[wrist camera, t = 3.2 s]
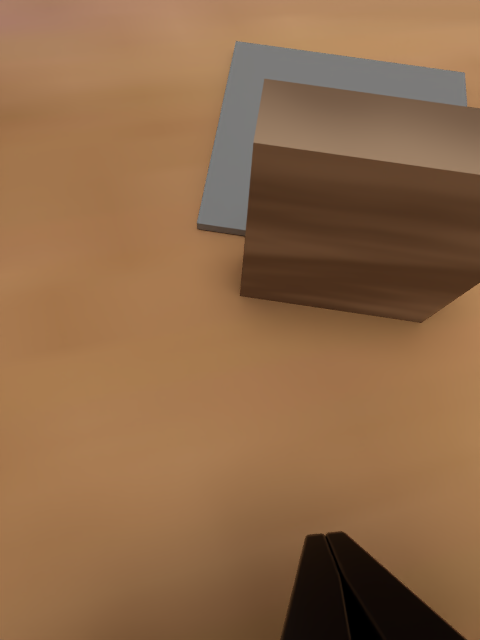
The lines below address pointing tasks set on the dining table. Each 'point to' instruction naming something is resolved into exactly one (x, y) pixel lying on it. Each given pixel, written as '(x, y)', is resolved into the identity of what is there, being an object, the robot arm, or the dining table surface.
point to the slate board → (305, 68)
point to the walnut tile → (362, 202)
